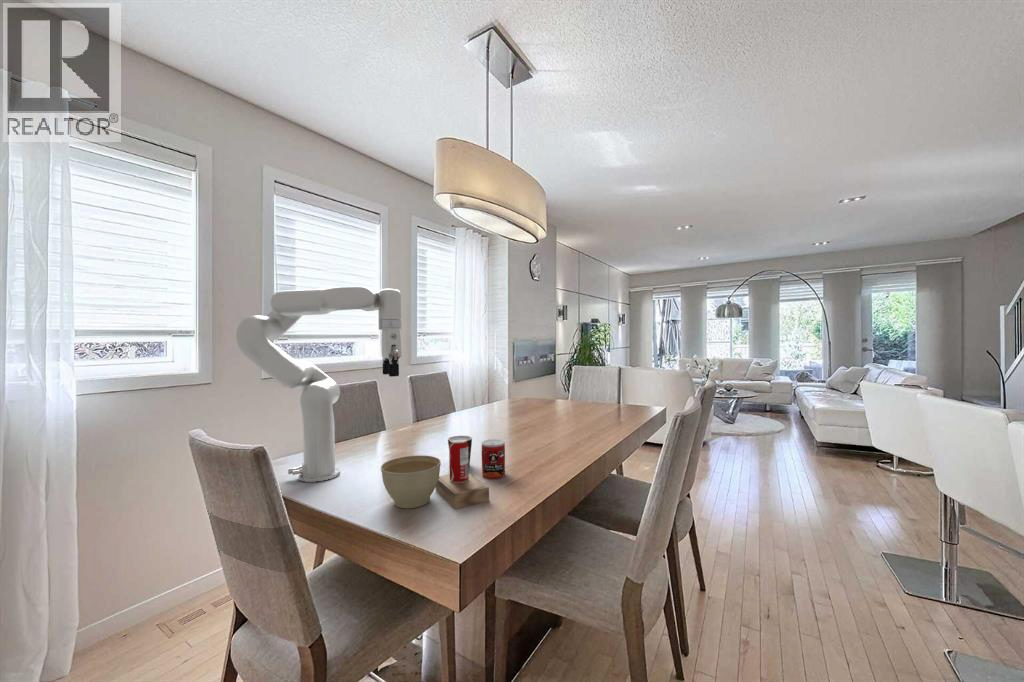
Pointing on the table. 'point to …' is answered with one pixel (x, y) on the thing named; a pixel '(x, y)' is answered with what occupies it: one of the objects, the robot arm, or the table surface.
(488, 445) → the canned food
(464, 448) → the soda can
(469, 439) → the coffee mug
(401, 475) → the planter bowl
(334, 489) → the table surface
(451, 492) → the wooden tray
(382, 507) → the table surface
